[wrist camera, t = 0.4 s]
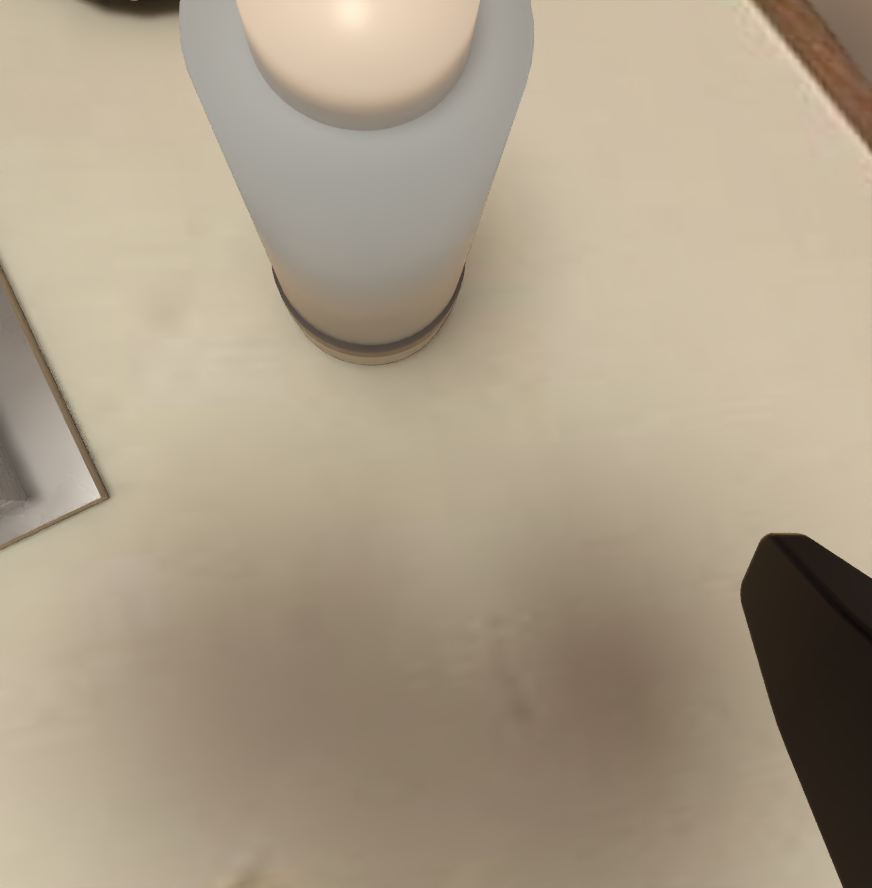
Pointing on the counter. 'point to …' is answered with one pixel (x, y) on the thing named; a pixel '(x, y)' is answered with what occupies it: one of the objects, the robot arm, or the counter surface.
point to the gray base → (36, 437)
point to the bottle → (362, 148)
